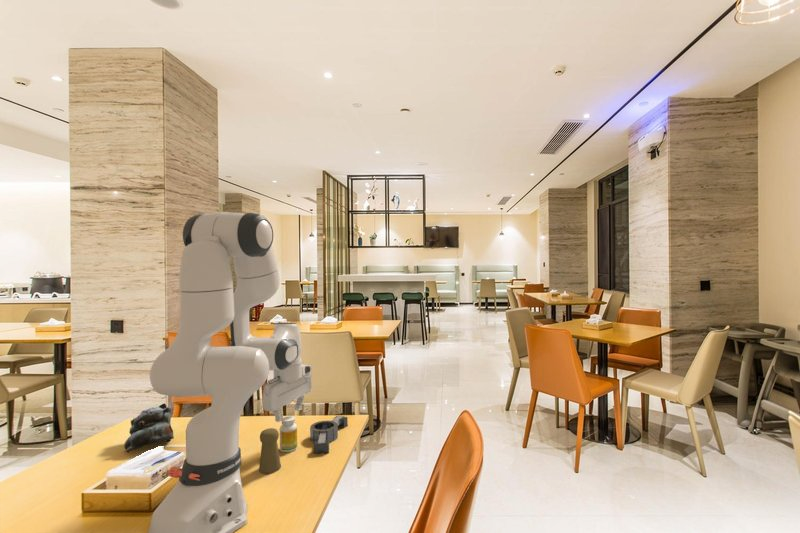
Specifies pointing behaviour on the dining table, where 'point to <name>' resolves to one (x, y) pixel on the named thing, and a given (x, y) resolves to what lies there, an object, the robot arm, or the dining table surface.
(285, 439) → the supplement bottle
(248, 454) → the dining table surface
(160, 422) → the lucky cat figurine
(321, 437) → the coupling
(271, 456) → the olive pawn figure
